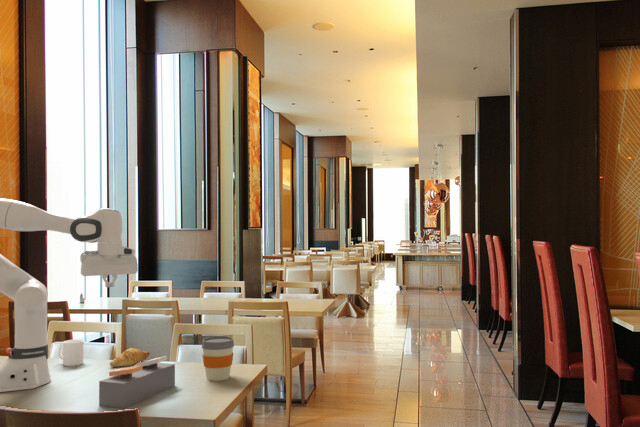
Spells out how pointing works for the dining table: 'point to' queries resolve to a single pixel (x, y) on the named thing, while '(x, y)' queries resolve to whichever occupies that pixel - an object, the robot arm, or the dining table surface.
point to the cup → (72, 352)
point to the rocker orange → (125, 370)
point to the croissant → (129, 357)
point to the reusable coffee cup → (217, 357)
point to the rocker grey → (152, 361)
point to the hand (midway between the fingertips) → (109, 286)
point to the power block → (136, 385)
